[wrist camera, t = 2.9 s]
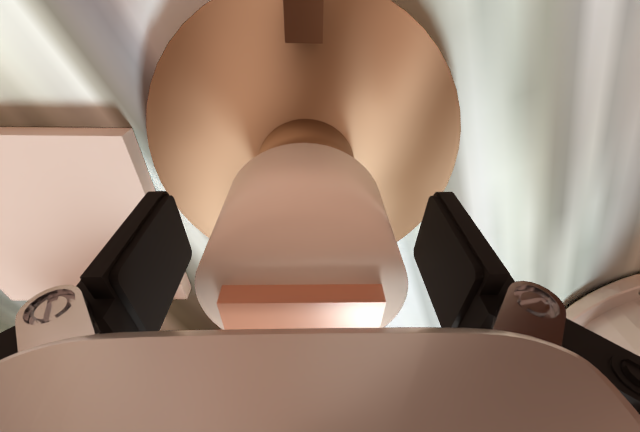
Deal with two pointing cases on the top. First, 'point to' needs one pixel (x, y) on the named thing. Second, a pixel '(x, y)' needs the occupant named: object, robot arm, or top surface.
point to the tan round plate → (302, 99)
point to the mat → (64, 202)
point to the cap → (302, 246)
